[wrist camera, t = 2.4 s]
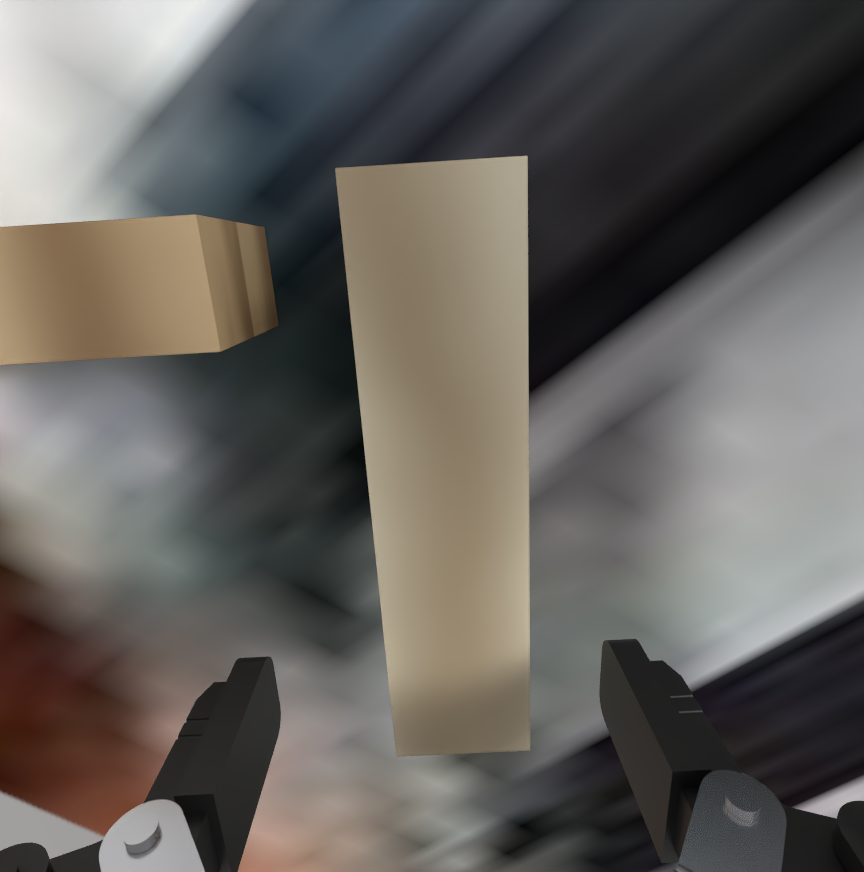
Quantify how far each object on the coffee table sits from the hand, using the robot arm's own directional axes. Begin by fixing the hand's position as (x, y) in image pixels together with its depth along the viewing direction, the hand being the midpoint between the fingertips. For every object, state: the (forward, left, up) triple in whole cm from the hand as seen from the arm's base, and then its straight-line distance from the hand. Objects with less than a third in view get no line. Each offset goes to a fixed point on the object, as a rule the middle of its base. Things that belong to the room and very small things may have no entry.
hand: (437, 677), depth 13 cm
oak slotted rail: (+14, -9, -10) cm, 20 cm away
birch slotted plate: (-1, -4, -10) cm, 11 cm away
